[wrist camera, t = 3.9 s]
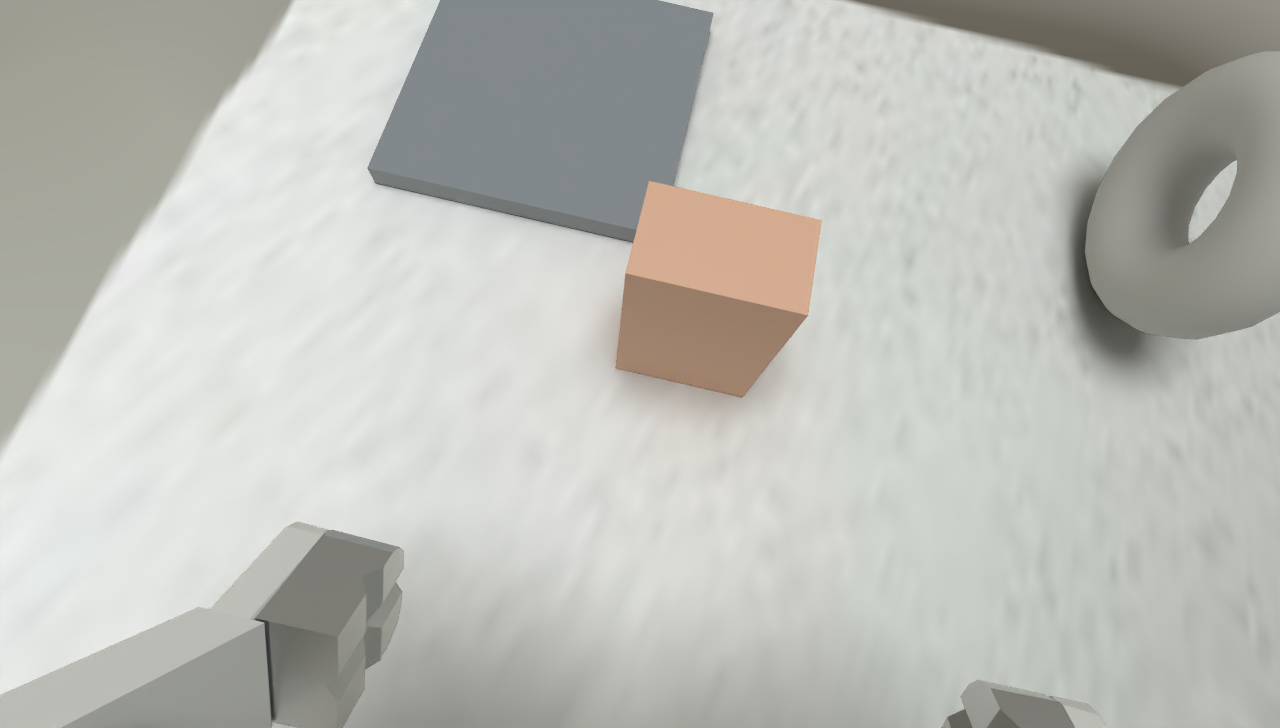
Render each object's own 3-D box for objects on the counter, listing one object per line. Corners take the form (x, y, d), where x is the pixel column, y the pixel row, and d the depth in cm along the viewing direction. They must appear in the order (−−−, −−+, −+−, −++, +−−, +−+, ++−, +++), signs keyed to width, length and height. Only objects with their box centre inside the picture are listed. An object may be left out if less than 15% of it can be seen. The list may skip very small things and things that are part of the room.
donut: (1152, 383, 26) (1470, 270, 17) (1069, 366, 26) (1340, 242, 17) (1136, 179, 29) (1394, -12, 20) (1063, 163, 29) (1285, -35, 20)
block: (754, 327, 26) (821, 220, 18) (742, 397, 25) (808, 315, 17) (632, 299, 26) (649, 180, 18) (615, 368, 25) (625, 273, 17)
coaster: (709, 30, 30) (713, 13, 29) (657, 247, 26) (660, 235, 26) (464, -26, 30) (459, -45, 30) (375, 182, 27) (367, 167, 26)
